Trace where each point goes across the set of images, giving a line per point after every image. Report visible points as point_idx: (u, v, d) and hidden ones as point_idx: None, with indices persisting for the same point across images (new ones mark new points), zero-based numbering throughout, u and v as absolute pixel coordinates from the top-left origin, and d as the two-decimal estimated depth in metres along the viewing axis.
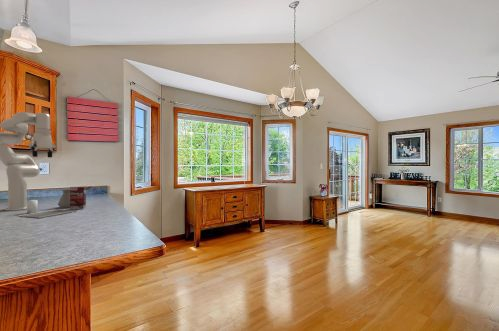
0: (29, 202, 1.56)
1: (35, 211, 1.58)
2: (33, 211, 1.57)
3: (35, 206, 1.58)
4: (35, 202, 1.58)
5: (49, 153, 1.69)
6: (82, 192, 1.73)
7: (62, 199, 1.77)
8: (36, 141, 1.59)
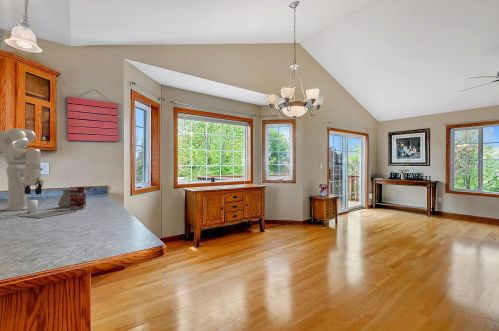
0: (29, 202, 1.56)
1: (35, 211, 1.58)
2: (33, 211, 1.57)
3: (35, 206, 1.58)
4: (35, 202, 1.58)
5: (28, 189, 1.60)
6: (82, 192, 1.73)
7: (62, 199, 1.77)
8: (40, 178, 1.58)
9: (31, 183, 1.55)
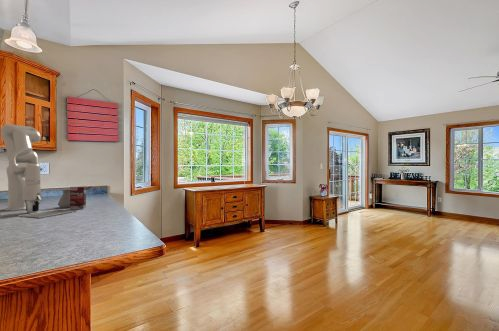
0: (29, 202, 1.56)
1: (35, 211, 1.58)
2: None
3: None
4: None
5: None
6: (82, 192, 1.73)
7: (62, 199, 1.77)
8: (40, 193, 1.58)
9: (31, 199, 1.55)
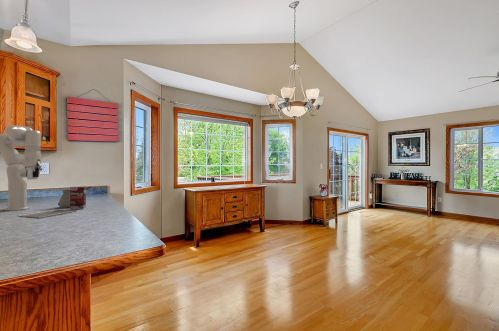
0: (29, 168, 1.56)
1: (35, 177, 1.58)
2: (33, 177, 1.57)
3: None
4: (35, 168, 1.58)
5: None
6: (82, 192, 1.73)
7: (62, 199, 1.77)
8: (40, 160, 1.59)
9: (31, 164, 1.55)
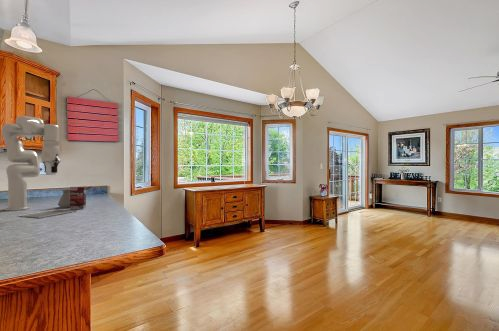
0: (48, 163, 1.52)
1: (54, 173, 1.54)
2: None
3: None
4: None
5: None
6: (82, 192, 1.73)
7: (62, 199, 1.77)
8: (58, 155, 1.54)
9: (50, 159, 1.51)
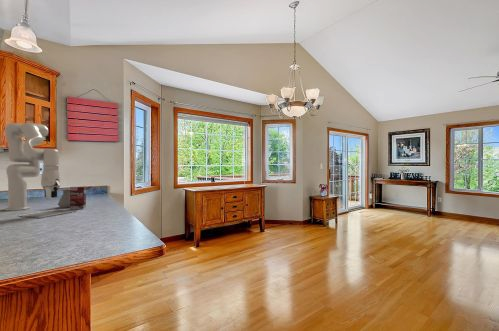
0: (48, 188, 1.52)
1: (54, 197, 1.54)
2: None
3: None
4: None
5: None
6: (82, 192, 1.73)
7: (62, 199, 1.77)
8: (58, 179, 1.54)
9: (49, 184, 1.51)
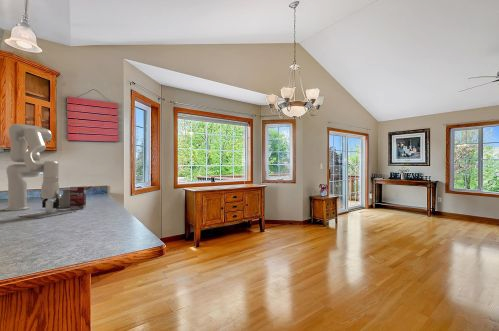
0: (47, 202, 1.52)
1: (53, 212, 1.54)
2: (51, 212, 1.53)
3: None
4: None
5: None
6: (82, 192, 1.73)
7: (62, 199, 1.77)
8: (58, 191, 1.54)
9: (49, 196, 1.51)
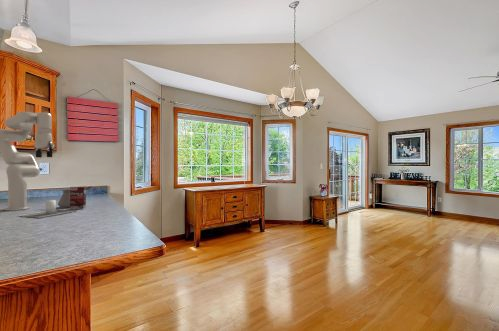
0: (47, 202, 1.52)
1: (53, 212, 1.54)
2: (51, 212, 1.53)
3: (53, 206, 1.54)
4: (53, 202, 1.54)
5: (39, 153, 1.63)
6: (82, 192, 1.73)
7: (62, 199, 1.77)
8: (51, 142, 1.61)
9: (43, 146, 1.58)
